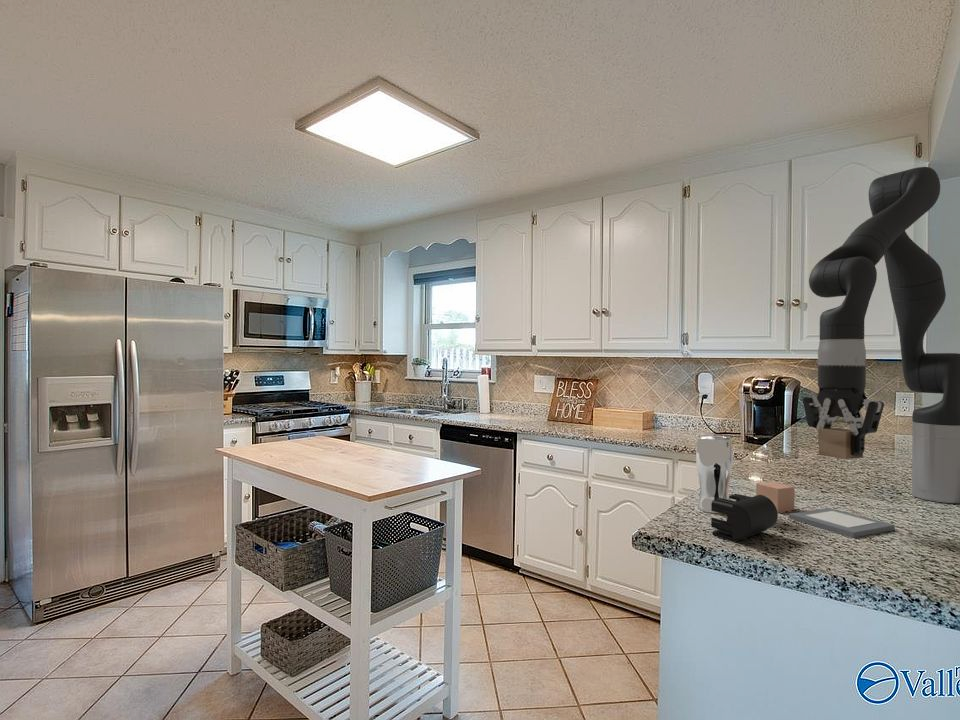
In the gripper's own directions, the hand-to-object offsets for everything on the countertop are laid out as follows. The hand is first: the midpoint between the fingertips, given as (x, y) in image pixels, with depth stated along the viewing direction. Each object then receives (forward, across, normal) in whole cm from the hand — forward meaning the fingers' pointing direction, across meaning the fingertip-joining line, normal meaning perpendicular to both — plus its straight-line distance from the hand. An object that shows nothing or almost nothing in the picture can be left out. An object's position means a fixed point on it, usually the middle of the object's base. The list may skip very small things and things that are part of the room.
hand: (840, 452), depth 98 cm
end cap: (+14, +2, +23) cm, 27 cm away
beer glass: (+14, +16, +15) cm, 26 cm away
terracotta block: (+14, +12, +2) cm, 18 cm away
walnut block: (+1, 0, 0) cm, 1 cm away
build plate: (+14, 0, 0) cm, 14 cm away
